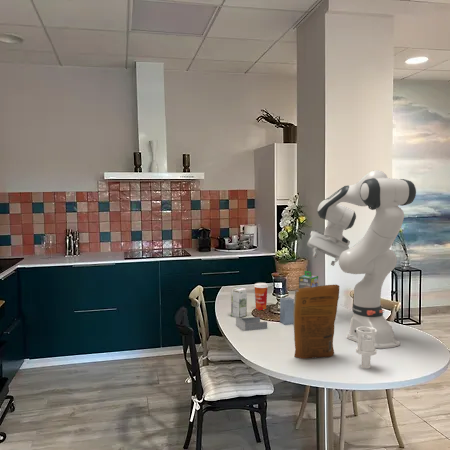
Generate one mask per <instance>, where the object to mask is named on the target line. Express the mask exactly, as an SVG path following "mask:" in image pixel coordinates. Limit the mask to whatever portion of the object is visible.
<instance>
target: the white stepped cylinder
mask: <svg viewBox="0 0 450 450" xmlns="http://www.w3.org/2000/svg"><path fill="white" fill-rule="evenodd" d="M359 330H370V332H363V331H359ZM356 332H357V333H358V342H357V346H356V347H355V353H356V354H358V355H361V364H360V366H361V368H362V369H366V370H367V369H370V368H371V356H372V357H373V356H375V355H377V348H375V335H376V334H377V330H376V329H375V328H371V327H357V328H356ZM364 336H365V337H364Z"/></svg>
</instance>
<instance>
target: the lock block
mask: <svg viewBox="0 0 450 450" xmlns="http://www.w3.org/2000/svg"><path fill="white" fill-rule="evenodd" d="M293 311H294V298H292V297H288V296H287V297H280V298H279V323H280V324H282V325H283V326H288V325H294V317H293Z"/></svg>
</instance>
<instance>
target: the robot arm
mask: <svg viewBox="0 0 450 450" xmlns="http://www.w3.org/2000/svg"><path fill="white" fill-rule="evenodd" d="M416 196H417V188H416V185H415V184H414V182H413V181H411V180H408V179H404V178H400V179H399V178H392V177H391V178H390V177H388V175H387V174H386V173H385V172H384V171H382V170H379V169H374V170H371V171H369V172H368V173H366V174H365V175H364V176H362V177H361V179H359V181H358V182H356V183H353V184H349V185H343V186H342V187H341V188H339V189H337V190H336V191H335V192H334V193H332V194H331V195H330V196H329V197H327V198H325V199H323V200H321V201H320V203H319V205H318V206H317V210H316V212H317V215H318V218H320V219H322V220H326V221H327V226H325V229H324V232H321V231H318V230H316V229H315V230H314V229H313V230H311V232H310V235H309V236H310V237H309V239H308V240H307V243H306V245H307V247H308V248H311V249H312V258H314V259H315V258H316V257H317V255H318V253H316V252H320V253H322V254H324V255H327V256H328V257H329V256H330V257H331V258H334V260H332V261H331V263H330V266H333V267H334V266H335V264H336V263H337V262H338V266H339V268H340V269H341V270H342V272H343V273H345V274H351V275H364V276H363V278H362V279H361V280H360V281H358V282H357V283H356V284H355V285H354V287H353V303H352V313H353V314H352V317H351V318H350V322H349V323H350V324H349V325H350V326H349V334H347V339H348V340H351V341H353V342H356V343H358V333H357V332H356V328H357V327H371V328H375V329H376V330H377V334H376V335H375V349H389V348H395V347H396V348H397V347H398V346H401V342H400V341H399V340H398V339H396V338H395V332H394V329H393V325H391V324H389V322H388V320H387V319H386V318H385V317H384V313H385V309H383V308H382V305H381V297H382V287H383V284H384V282H385V280H386V278H387V277H388V275H389V274H390V273H391V272H392V271H393V270H395V268H396V266H397V255H396V253H395V251H393V250H392V249H390V248H391V247H392V245H393V244H394V242H395V239H397V236H398V235H399V232H400V231H401V228H402V225H403V222H404V218H405V213H404V211H403V209H402V208H401V207H400V206H407V205H410V204H411V203H413V202H414V200H415V198H416ZM341 203H347V204H352V205H355V206H358V207H368V209H369V210H372V211H375V215H374V216H373V217H374V218H373V220H371V223H370V225H369V226H368V229H367V230H366V233H365V234H364V235H363V237H362V238H361V239H360V240H358V242H356V244H354V245H353V246H351V247H349V245H350V244H351V242H350V240H349V239H348V238H346V237H345V236H344V235H343V232H344V231H347V230H348V229H352V228H353V226H354V225H355V221H356V220H357V215H356V212H355V210H353V209H351V208H349V207H347V206H345V205H342V204H341ZM359 331H363V332H370V330H359ZM364 337H365V336H364Z"/></svg>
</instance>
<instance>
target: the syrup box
mask: <svg viewBox="0 0 450 450" xmlns="http://www.w3.org/2000/svg"><path fill="white" fill-rule="evenodd" d="M230 293H231V297H230V298H231V299H230V300H231V302H230V303H231V308H230V309H231V312H230V314H231V315H230V316H231V317H233V318H236V317H239V318H245V317H247V315H248V314H247V307H248V306H247V305H248V302H247V300H248V297H247V296H248V294H247V293H248V290H247V288H244V287H240V286H239V287H236V288H231V292H230Z"/></svg>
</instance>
